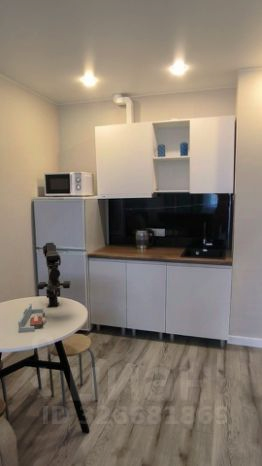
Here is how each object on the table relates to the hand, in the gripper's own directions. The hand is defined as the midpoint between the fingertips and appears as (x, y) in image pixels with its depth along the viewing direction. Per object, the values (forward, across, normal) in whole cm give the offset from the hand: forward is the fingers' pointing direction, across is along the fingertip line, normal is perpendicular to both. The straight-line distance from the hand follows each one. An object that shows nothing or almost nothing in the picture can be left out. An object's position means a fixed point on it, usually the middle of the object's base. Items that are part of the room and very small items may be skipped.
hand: (55, 298), depth 190 cm
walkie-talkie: (+12, -9, -6) cm, 17 cm away
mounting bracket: (+12, -13, -5) cm, 18 cm away
